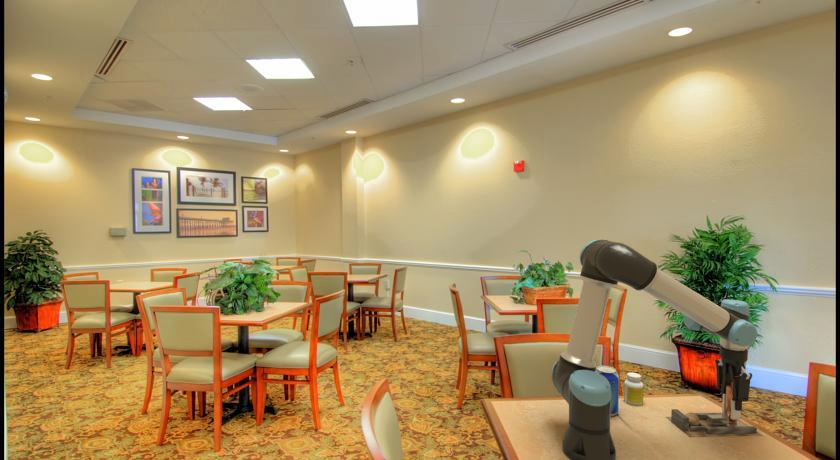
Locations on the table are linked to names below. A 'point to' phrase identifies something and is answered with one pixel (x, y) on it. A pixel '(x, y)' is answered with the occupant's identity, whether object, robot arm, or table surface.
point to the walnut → (693, 419)
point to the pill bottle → (633, 390)
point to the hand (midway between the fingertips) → (731, 415)
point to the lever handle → (726, 412)
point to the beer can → (611, 385)
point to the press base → (709, 426)
